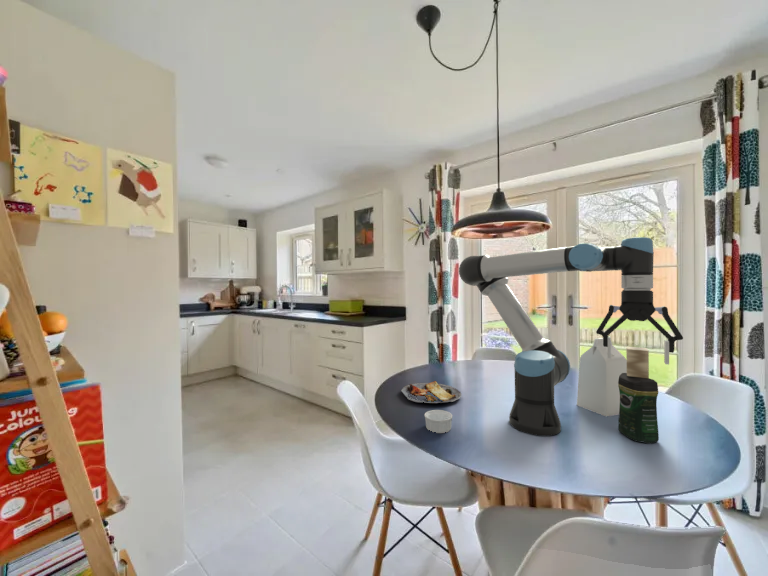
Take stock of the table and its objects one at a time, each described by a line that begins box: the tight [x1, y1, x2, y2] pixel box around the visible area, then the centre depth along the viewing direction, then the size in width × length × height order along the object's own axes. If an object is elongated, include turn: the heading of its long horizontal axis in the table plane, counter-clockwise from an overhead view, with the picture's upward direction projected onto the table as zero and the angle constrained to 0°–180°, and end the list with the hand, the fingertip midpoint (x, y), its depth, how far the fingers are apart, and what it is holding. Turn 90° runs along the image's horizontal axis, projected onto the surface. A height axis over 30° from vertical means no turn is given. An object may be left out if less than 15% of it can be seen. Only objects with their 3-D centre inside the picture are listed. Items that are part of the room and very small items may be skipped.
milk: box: [576, 337, 627, 417], centre depth 119 cm, size 12×12×26 cm
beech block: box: [625, 346, 650, 379], centre depth 97 cm, size 5×5×8 cm
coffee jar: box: [617, 373, 660, 444], centre depth 97 cm, size 10×8×19 cm
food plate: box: [400, 380, 462, 404], centre depth 134 cm, size 25×23×4 cm
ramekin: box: [424, 409, 453, 434], centre depth 104 cm, size 9×9×4 cm
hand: (636, 360), depth 97 cm, fingers open, 13 cm apart
